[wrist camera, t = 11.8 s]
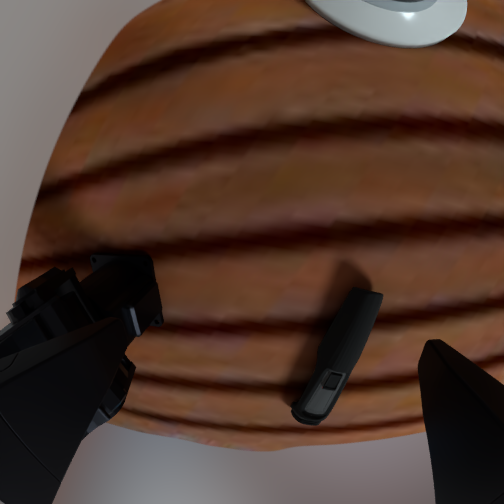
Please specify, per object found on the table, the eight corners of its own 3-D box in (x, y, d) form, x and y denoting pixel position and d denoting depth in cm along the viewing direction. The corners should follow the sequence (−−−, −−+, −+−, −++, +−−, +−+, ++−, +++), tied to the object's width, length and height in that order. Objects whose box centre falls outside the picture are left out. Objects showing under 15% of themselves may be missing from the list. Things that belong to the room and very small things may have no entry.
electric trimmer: (391, 280, 20) (402, 301, 17) (323, 412, 26) (323, 436, 23) (345, 268, 21) (351, 288, 18) (288, 405, 26) (285, 429, 23)
